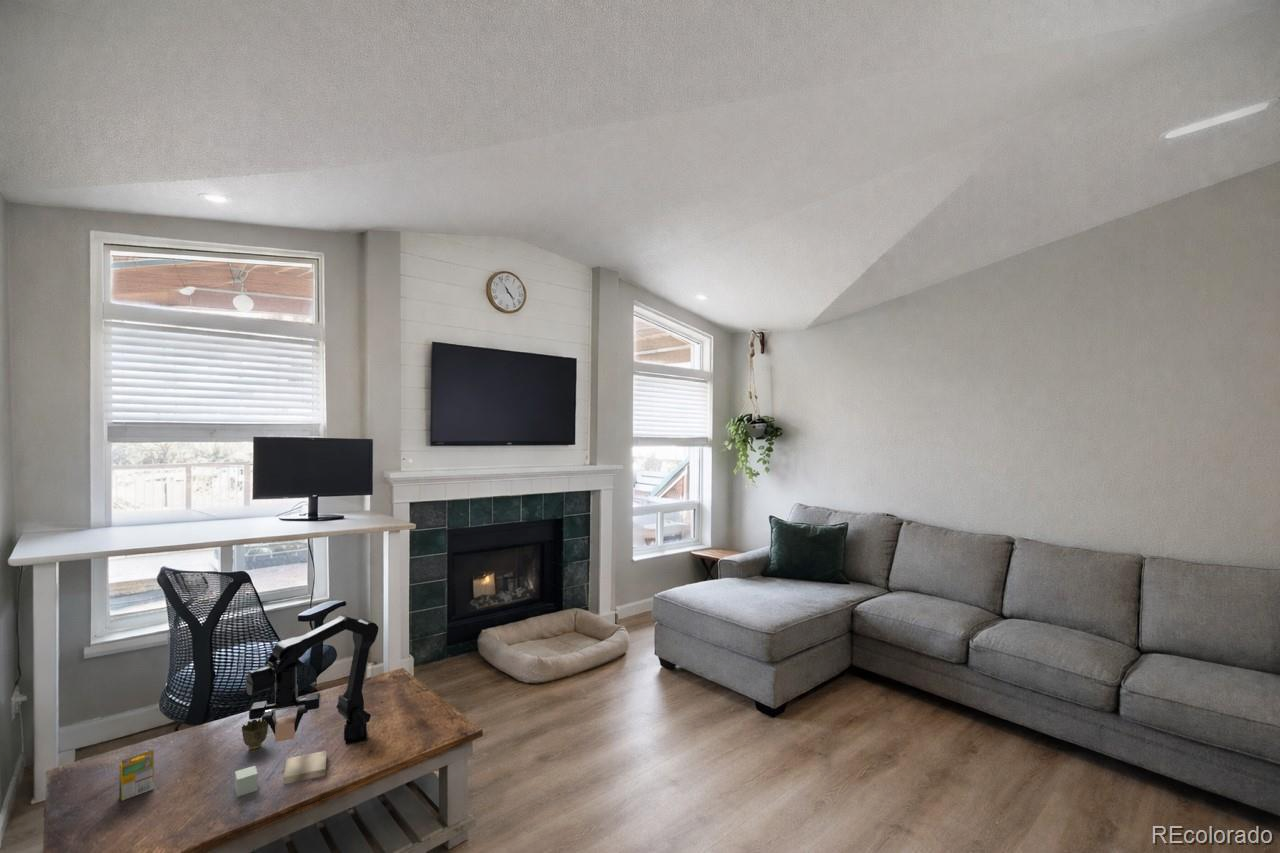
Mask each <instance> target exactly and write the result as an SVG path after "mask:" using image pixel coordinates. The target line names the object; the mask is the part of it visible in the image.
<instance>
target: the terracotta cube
mask: <svg viewBox="0 0 1280 853" xmlns="http://www.w3.org/2000/svg"><path fill="white" fill-rule="evenodd" d="M296 715H297V714H295V715H288V716H283V717H277V718H276V725H275V734H274V737H275V739H274V742H275V743H277V742H282V741H283V742H284V741H288V740H294V739H295V736H296V732H297V731H296V732H295V722H296Z"/></svg>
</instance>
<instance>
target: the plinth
mask: <svg viewBox="0 0 1280 853" xmlns="http://www.w3.org/2000/svg"><path fill="white" fill-rule="evenodd" d="M327 753H328V751H327V750H324V751H317V752H312V753H308V754H307V753H306V754H302V755H298V756H292V757H288V758H286V761H285V762H286V763H285V767H284V768H285V769H284V773H283V785H286V784H291V783H296V782H300V781H306V780H311V779H314V778H319V777H325V776H326V775H327V774H326V773H327V772H326V771H327V770H326V769H327V759H328V758H327V756H328V755H327Z"/></svg>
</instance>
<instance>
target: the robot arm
mask: <svg viewBox="0 0 1280 853" xmlns="http://www.w3.org/2000/svg"><path fill="white" fill-rule="evenodd" d="M345 630H346V631H350V632H352V641H353V645H354V649H353V654H352V661H351V666H350V671H349V676H348V682H347V686H346V687H347V688H346V690H345V692H344V693H343V695H338V698H337V699H338V701H337V704H336V707H335V708H336V709H337V713H338V714H339V715H340V716H342V717H343V719H344V720H346V722H345V724H344V727H343V728H344V729H343V740H344V741H345V742H344V743H345V745H349V744H355V743H360V742H366V741H367V740H368V735H367V734H368V733H367V732H368V731H367V730H368V729H367V726H368V725H367V723H369V722H370V720H371V717H372V715H371V714H370V713H369V712H367V711H366V710H365V699H364V695H363V686H364V681H365V677H366V670H367V666H368V661H369V660H368V659H369V654H370V649H371V647H372V646H373V644H374V643H375V642H376V639H377V637H378V636H377V635H378V634H379V626H378V624H377V623H375V622H373V621H371V620H368V619H367V618H361V619H355V618H353V617H350V616H347V615H346V614H343V615H342V614H341V615H339V616H338V617H336V618H335V619H332V620H331V621H328V622H327V623H325V624H322V625H321V626H318V627H316V628H314V629H312V630H310V631H309V632H307V633H305V634H302V635H300V636H299V635H298V636H295V637H294V636H293V637H289V638H287V639H284V640H280V641H278V642H277V643H276V644H275V645H274V647H273V649H272V653H270V656H268V659H267V660H266V661H265V663H264V664H263V665H264V666H265V667H260V668H257V669H252V670H249V671H248V672H247V673H248V675H247V676H246V678H245V680H244V681H245V682H244V685H245V691H246V693H247V694H248V696H252V695H255V694H259V693H261V692H264V691H268V690H272V693H271V695H272V697H275V698H274V703H270V704H268V702H267V700H264V701H263V700H262V701H257V702H253V703H252V705H251V706H250V709H249V712H248V720H249V721H252V720H254V719H255V720H257V719H258V720H259V719H261V721H262V720H266V722H267V723H268V726H269V727H270V728H271V731H272V733H273V734H274V735H275V725H276V722H277V716H276V711H279V710H286V709H291V708H297V711H296V714H295V715H296V722H295V732H297V731H298V728H299V726H300V722H301V720H302V718H303V716H304V714H307V713H308V712H309V711H311V710H312V711H313V710H317V709H320V704H321V699H322V698H321V693H319V692H315V693H308V694H306V696H305V698H301V699H298V698H299V689H298V687H299V686H298V684H297V677H298V676H297V675H298V674H297V668H298V667H299V668H300V667H302V666H304V665H305V663H304V661H301V660H300V658H301V657H302V656H304V655H305V653H306V652H307V651H308V650H310V649H311V648H313V647H315V646H317V645H319V644H321V643H323V642H325V641H327V640H328V639H330V638H332V637H334V636H336V635H338V634H339V633H341V632H344V631H345ZM277 661H278V663H277Z"/></svg>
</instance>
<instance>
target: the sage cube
mask: <svg viewBox="0 0 1280 853" xmlns="http://www.w3.org/2000/svg"><path fill="white" fill-rule="evenodd" d="M258 774H259V773H258V770H257V766H256V765H252V766H249V767H245V768H243V769H238V770H235V772H234V790H235V794H236V797H241V796H244V795H247V794H250V793H253V792H256V791H258V781H259V780H258V777H259V775H258Z"/></svg>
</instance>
